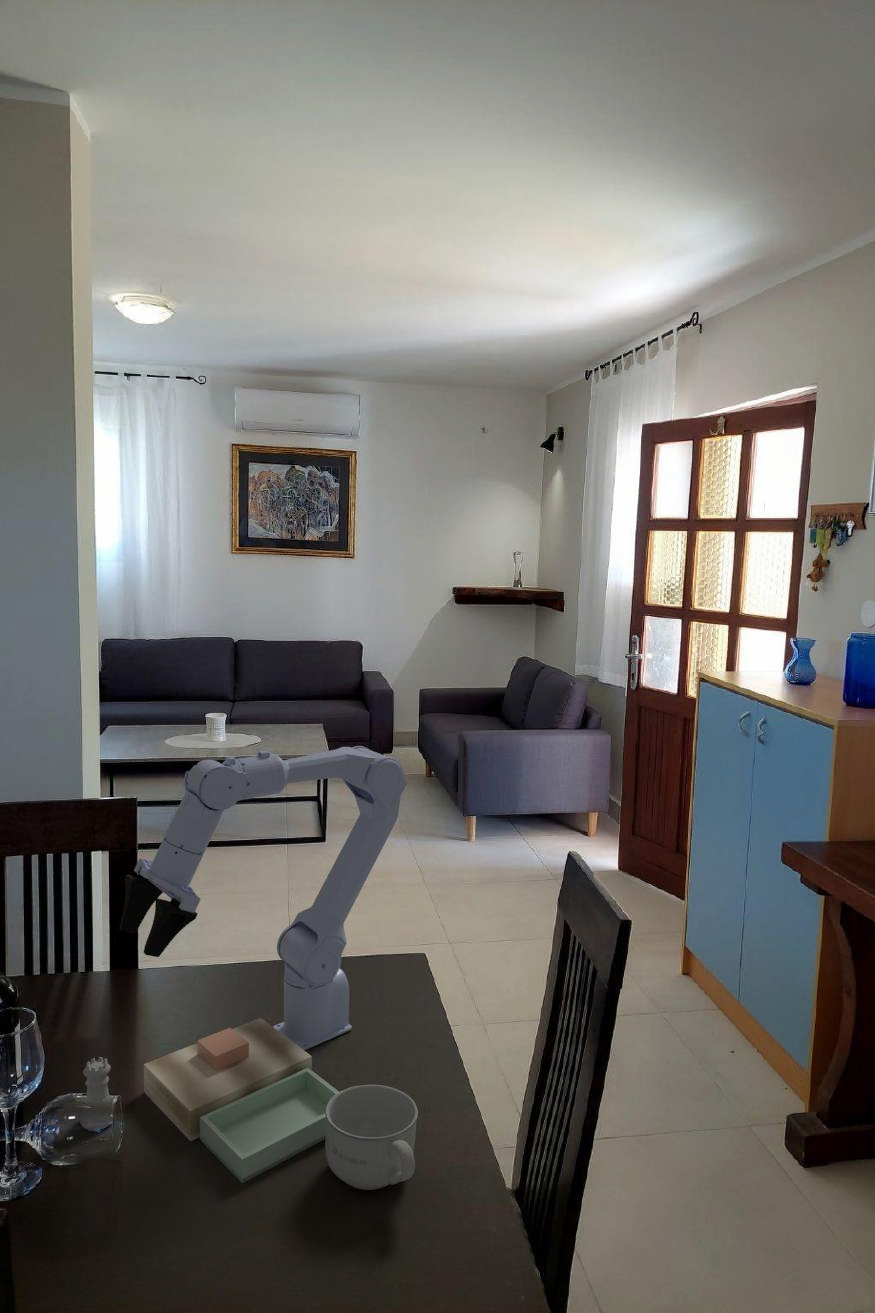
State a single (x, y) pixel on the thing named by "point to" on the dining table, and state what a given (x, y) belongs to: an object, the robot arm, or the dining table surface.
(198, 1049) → the tile
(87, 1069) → the rook chess piece
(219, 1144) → the box
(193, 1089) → the beige banded block
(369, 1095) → the teacup
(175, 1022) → the dining table surface
